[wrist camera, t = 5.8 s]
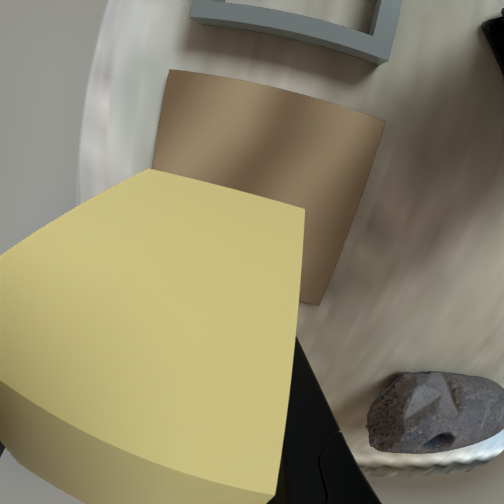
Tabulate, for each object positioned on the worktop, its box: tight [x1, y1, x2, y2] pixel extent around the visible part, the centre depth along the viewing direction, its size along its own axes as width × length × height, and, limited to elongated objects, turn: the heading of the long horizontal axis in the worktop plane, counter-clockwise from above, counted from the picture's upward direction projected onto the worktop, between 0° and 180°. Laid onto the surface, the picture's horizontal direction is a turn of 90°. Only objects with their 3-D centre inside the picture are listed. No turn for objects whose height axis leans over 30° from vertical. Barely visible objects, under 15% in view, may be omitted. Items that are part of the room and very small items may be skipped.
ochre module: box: [0, 168, 305, 504], centre depth 7 cm, size 5×5×8 cm
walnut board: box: [152, 69, 386, 306], centre depth 18 cm, size 12×12×1 cm
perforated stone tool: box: [366, 371, 504, 454], centre depth 20 cm, size 15×5×7 cm, turn 82°
